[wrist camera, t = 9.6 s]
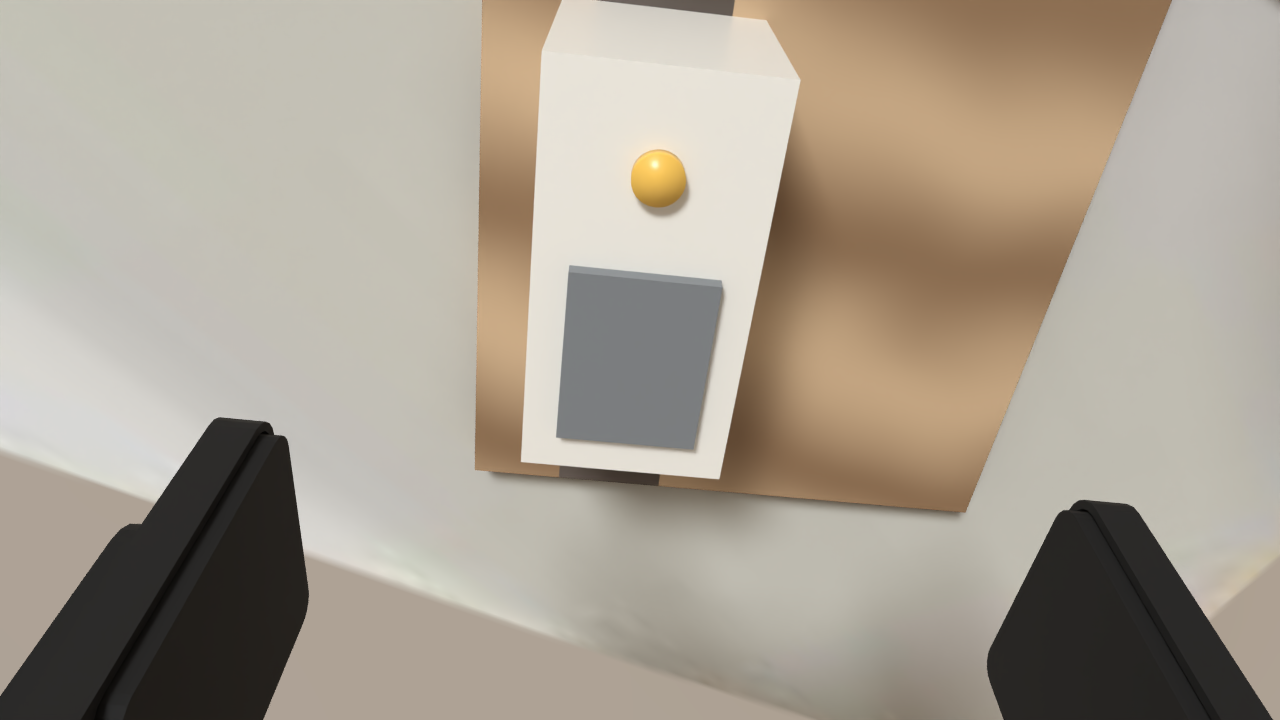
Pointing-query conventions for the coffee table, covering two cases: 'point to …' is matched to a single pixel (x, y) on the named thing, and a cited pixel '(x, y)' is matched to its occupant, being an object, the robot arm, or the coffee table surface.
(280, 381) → the coffee table surface
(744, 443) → the subfloor board
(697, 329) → the stud finder
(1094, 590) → the robot arm
